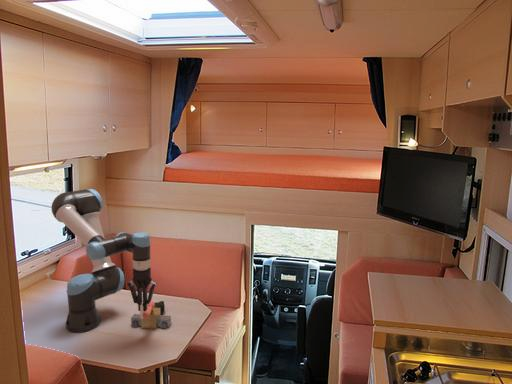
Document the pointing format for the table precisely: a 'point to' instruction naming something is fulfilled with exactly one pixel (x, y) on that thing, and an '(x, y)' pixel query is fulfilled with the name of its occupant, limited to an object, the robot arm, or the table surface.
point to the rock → (160, 306)
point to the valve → (152, 320)
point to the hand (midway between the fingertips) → (142, 317)
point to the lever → (148, 310)
